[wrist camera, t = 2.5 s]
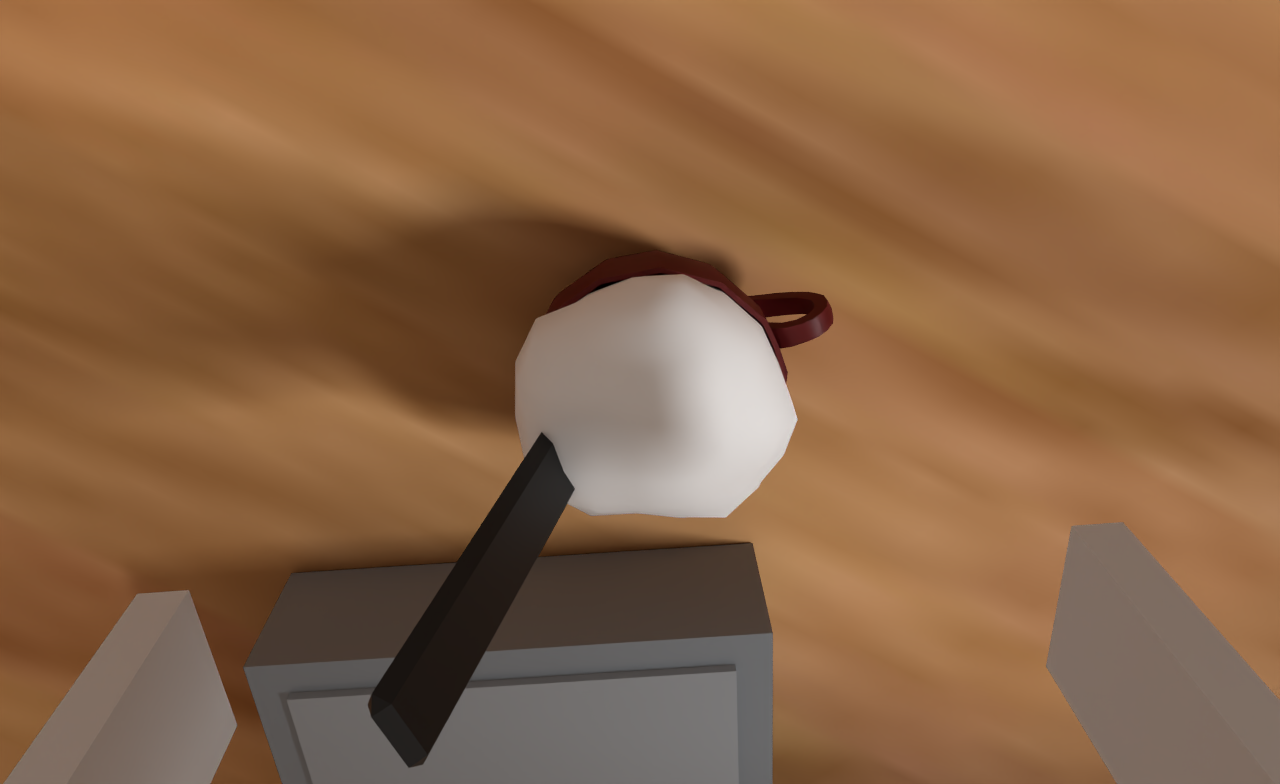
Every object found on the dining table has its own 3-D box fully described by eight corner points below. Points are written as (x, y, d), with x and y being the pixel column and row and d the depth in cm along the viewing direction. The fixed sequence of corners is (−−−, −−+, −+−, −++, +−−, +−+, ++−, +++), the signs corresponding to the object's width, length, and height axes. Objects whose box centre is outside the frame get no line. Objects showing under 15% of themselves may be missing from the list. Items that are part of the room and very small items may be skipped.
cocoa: (807, 222, 24) (1008, 427, 13) (792, 438, 26) (948, 761, 15) (438, 229, 23) (318, 450, 12) (459, 449, 26) (375, 793, 15)
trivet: (752, 543, 28) (773, 639, 24) (755, 853, 34) (773, 969, 30) (291, 573, 28) (239, 674, 24) (378, 877, 34) (348, 996, 30)
